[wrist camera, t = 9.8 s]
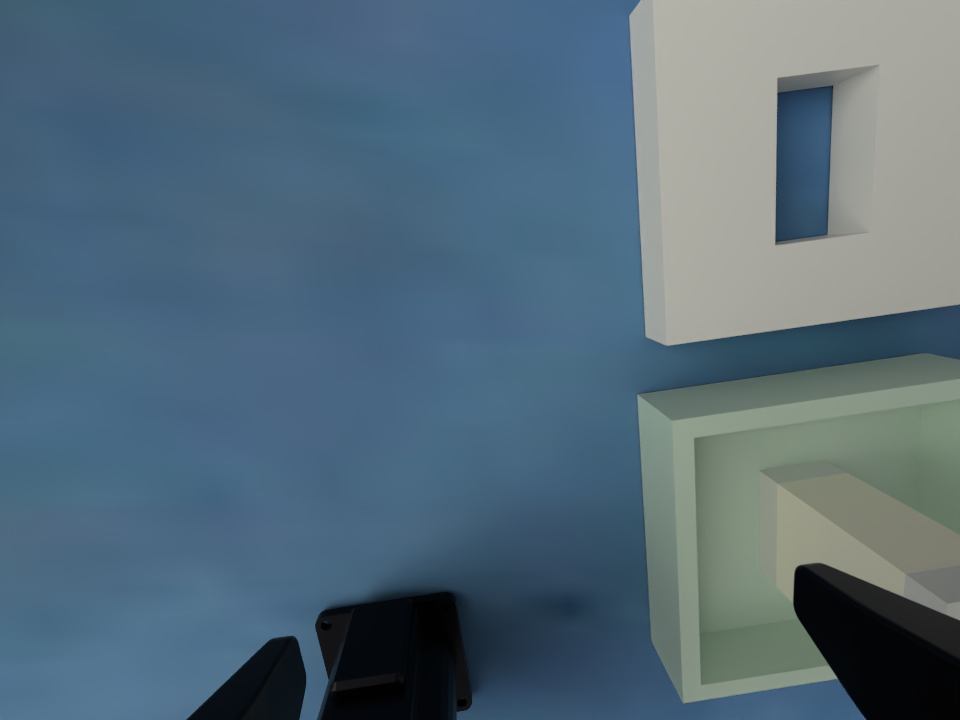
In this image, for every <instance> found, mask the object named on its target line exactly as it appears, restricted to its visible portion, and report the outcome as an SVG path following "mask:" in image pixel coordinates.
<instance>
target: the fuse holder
mask: <svg viewBox="0 0 960 720" xmlns="http://www.w3.org/2000/svg"><path fill="white" fill-rule="evenodd" d="M629 20H630V39H631V59H632V79H633V98H634V118H635V137H636V157H637V176H638V196H639V216H640V235H641V255H642V274H643V294H644V314H645V333H646V337H647V338H650V339H652V340H654V341H657V342H659V343H661V344H664V345H666V346H669V345H676V344H683V343H690V342H698V341H705V340H712V339H719V338H726V337H733V336H740V335H747V334H754V333H761V332H768V331H775V330H782V329H789V328H796V327H803V326H810V325H817V324H825V323H832V322H839V321H846V320H853V319H860V318H867V317H874V316H881V315H888V314H895V313H902V312H909V311H916V310H923V309H930V308H937V307H945V306H952V305H959V304H960V0H641V1H640V2H639V4H638V5H637V6H636V8H635V9H634V10H633V12H632V13H631V15H630V16H629ZM826 86H833V105H832V131H831V157H830V183H829V209H828V235H823V236H816V237H808V238H801V239H794V240H787V241H779V242H775V221H776V146H777V93H780V92H787V91H795V90H803V89H810V88H818V87H826Z"/></svg>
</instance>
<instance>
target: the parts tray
mask: <svg viewBox="0 0 960 720" xmlns="http://www.w3.org/2000/svg"><path fill="white" fill-rule="evenodd" d="M637 398H638V416H639V433H640V451H641V468H642V486H643V504H644V521H645V539H646V556H647V574H648V591H649V609H650V627H651V641H652V643H653V645H654V647H655V649H656V651H657V653H658V655H659V657H660V659H661V661H662V663H663V665H664V667H665V669H666V671H667V673H668V675H669V677H670V679H671V681H672V683H673V684H674V686H675V688H676V690H677V692H678V694H679V696H680V698H681V700H682V702H683V703H689V702H695V701H701V700H708V699H714V698H720V697H726V696H733V695H739V694H745V693H751V692H758V691H764V690H770V689H776V688H783V687H789V686H795V685H802V684H808V683H814V682H820V681H827V680H833V679H838V678H837V677H836V675H835V674H834V672H833V671H832V669H831V668H830V666H829V665H828V663H827V662H826V660H825V659H824V657H823V656H822V654H821V653H820V651H819V650H818V648H817V647H816V645H815V644H814V642H813V641H812V639H811V638H810V636H809V635H808V633H807V632H806V630H805V628H804V627H803V625H802V624H801V622H800V621H799V619H798V618H797V615H796V613H795V610H794V606H793V603H792V602H791V601H790V600H789V599H788V598H787V597H786V596H785V595H784V594H783V593H782V592H781V591H780V589H779V588H778V587H777V586H776V585H775V584H774V583H773V582H772V581H771V580H770V579H769V578H768V577H767V576H766V575H765V574H764V573H763V572H762V571H761V570H760V569H759V470H765V469H771V468H778V467H784V466H791V465H798V464H804V463H811V462H817V461H824V460H825V461H827V462H829V463H831V464H833V465H834V466H836V467H838V468H840V469H842V470H843V471H845V472H847V473H849V474H851V475H852V476H854V477H856V478H858V479H860V480H861V481H863V482H865V483H867V484H869V485H870V486H872V487H874V488H876V489H878V490H880V491H881V492H883V493H885V494H887V495H889V496H890V497H892V498H894V499H896V500H898V501H899V502H901V503H903V504H905V505H907V506H908V507H910V508H912V509H914V510H916V511H917V512H919V513H921V514H923V515H925V516H927V517H928V518H930V519H932V520H934V521H936V522H937V523H939V524H941V525H943V526H945V527H946V528H948V529H950V530H952V531H954V532H955V533H957V534H959V535H960V360H958V359H953V358H948V357H943V356H938V355H934V354H929V353H922V354H915V355H908V356H901V357H894V358H887V359H880V360H873V361H866V362H859V363H852V364H845V365H838V366H831V367H824V368H817V369H810V370H803V371H796V372H789V373H783V374H776V375H769V376H762V377H755V378H748V379H741V380H734V381H727V382H720V383H713V384H706V385H699V386H692V387H685V388H678V389H671V390H664V391H657V392H650V393H644V394H637Z"/></svg>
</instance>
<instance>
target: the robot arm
mask: <svg viewBox="0 0 960 720" xmlns="http://www.w3.org/2000/svg"><path fill="white" fill-rule="evenodd" d="M443 603H448V604H449V605H448V606H443V605H441V604H443ZM793 606H794V610H795V613H796V615H797V618H798V619H799V621H800V622H801V624H802V625H803V627H804V628H805V630H806V632H807V633H808V635H809V636H810V638H811V639H812V641H813V642H814V644H815V645H816V647H817V648H818V650H819V651H820V653H821V654H822V656H823V657H824V659H825V660H826V662H827V663H828V665H829V666H830V668H831V669H832V671H833V672H834V674H835V675H836V677H837V678H838V680H839V681H840V683H841V684H842V686H843V687H844V689H845V690H846V692H847V693H848V695H849V696H850V698H851V699H852V701H853V702H854V703H855V705H856V706H857V708H858V709H859V710H860V712H861V713H862V714H863V716H864V717H865V718H866V720H960V620H958V619H955V618H953V617H950V616H948V615H946V614H943V613H941V612H938V611H936V610H934V609H931V608H929V607H927V606H924V605H922V604H919V603H917V602H915V601H912V600H910V599H907V598H905V597H903V596H900V595H898V594H895V593H893V592H891V591H888V590H886V589H883V588H881V587H879V586H876V585H874V584H871V583H869V582H867V581H864V580H862V579H859V578H857V577H855V576H852V575H850V574H847V573H845V572H843V571H840V570H838V569H835V568H833V567H831V566H828V565H826V564H823V563H810V564H803V565H799V566H797V567H796V569H795V572H794V590H793ZM324 621H328V622H330V623H331V624H327V623H325V622H324ZM315 628H316V632H317V636H318V640H319V643H320V647H321V651H322V655H323V659H324V663H325V667H326V671H327V675H328V679H329V682H328V685H327V688H326V692H325V695H324V698H323V702H322V705H321V709H320V712H319V715H318V719H317V720H457V712H459V711H464V710H467V709H468V708H470V706H471V705H472V693H471V687H470V681H469V675H468V669H467V663H466V657H465V651H464V645H463V639H462V633H461V627H460V621H459V616H458V610H457V604H456V599H455V597H454V596H453V595H452V594H451V593H448V592H443V593H436V594H430V595H423V596H417V597H410V598H403V599H397V600H390V601H384V602H377V603H371V604H364V605H357V606H351V607H344V608H338V609H331V610H326V611H323V612H321V613H320V614H319V616H318V618H317V621H316V624H315ZM305 688H306V672H305V668H304V664H303V660H302V656H301V652H300V647H299V643H298V641H297V639H296V637H294V636H286V637H279V638H273V639H271V640H269V641H268V642H267V643H266V644H265V645H264V646H263V647H262V648H261V649H260V650H258V651H257V652H256V653H255V654H254V655H253V656H252V657H251V658H250V659H249V660H248V661H247V662H246V663H245V664H244V665H243V666H242V667H241V668H240V669H239V670H238V671H237V672H236V673H235V674H233V675H232V676H231V677H230V678H229V679H228V680H227V681H226V682H225V683H224V684H223V685H222V686H221V687H220V688H219V689H218V690H217V691H216V692H215V693H214V694H213V695H212V696H211V697H209V698H208V699H207V700H206V701H205V702H204V703H203V704H202V705H201V706H200V707H199V708H198V709H197V710H196V711H195V712H194V713H193V714H192V715H191V716H190V717H189V718H188V719H187V720H299V718H300V714H301V709H302V704H303V699H304V694H305ZM461 698H462V699H461Z"/></svg>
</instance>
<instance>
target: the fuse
mask: <svg viewBox="0 0 960 720" xmlns="http://www.w3.org/2000/svg"><path fill="white" fill-rule="evenodd" d="M810 563H823V564H826V565H828V566H831V567H833V568H835V569H838V570H840V571H843V572H845V573H847V574H850V575H852V576H855V577H857V578H859V579H862V580H864V581H867V582H869V583H871V584H874V585H876V586H879V587H881V588H883V589H886V590H888V591H891V592H893V593H895V594H898V595H900V596H903V597H905V598H907V599H910V600H912V601H915V602H917V603H919V604H922V605H924V606H927V607H929V608H931V609H934V610H936V611H938V612H941V613H943V614H946V615H948V616H950V617H953V618H955V619H958V620H960V535H959V534H957V533H955V532H954V531H952V530H950V529H948V528H946V527H945V526H943V525H941V524H939V523H937V522H936V521H934V520H932V519H930V518H928V517H927V516H925V515H923V514H921V513H919V512H917V511H916V510H914V509H912V508H910V507H908V506H907V505H905V504H903V503H901V502H899V501H898V500H896V499H894V498H892V497H890V496H889V495H887V494H885V493H883V492H881V491H880V490H878V489H876V488H874V487H872V486H870V485H869V484H867V483H865V482H863V481H861V480H860V479H858V478H856V477H854V476H852V475H851V474H849V473H847V472H845V471H843V470H842V469H840V468H838V467H836V466H834V465H833V464H831V463H829V462H827V461H825V460H824V461H817V462H811V463H804V464H798V465H791V466H784V467H778V468H771V469H765V470H759V569H760V570H761V571H762V572H763V573H764V574H765V575H766V576H767V577H768V578H769V579H770V580H771V581H772V582H773V583H774V584H775V585H776V586H777V587H778V588H779V589H780V591H781V592H782V593H783V594H784V595H785V596H786V597H787V598H788V599H789V600H790V601H791V602H792V603H793V590H794V572H795V569H796V567H797V566H799V565H803V564H810Z"/></svg>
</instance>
